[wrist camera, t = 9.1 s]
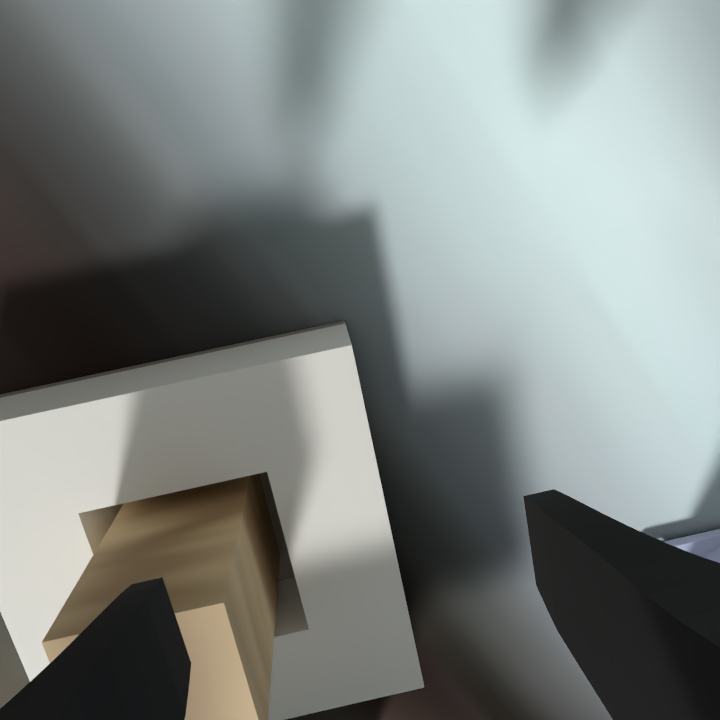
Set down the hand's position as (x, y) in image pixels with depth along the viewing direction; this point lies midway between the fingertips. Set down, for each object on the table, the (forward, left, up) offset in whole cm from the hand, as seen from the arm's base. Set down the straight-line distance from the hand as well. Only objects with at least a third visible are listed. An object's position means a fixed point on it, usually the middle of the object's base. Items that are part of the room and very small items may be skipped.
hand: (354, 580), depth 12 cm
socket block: (+5, +3, -10) cm, 11 cm away
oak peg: (+5, +3, -9) cm, 11 cm away
